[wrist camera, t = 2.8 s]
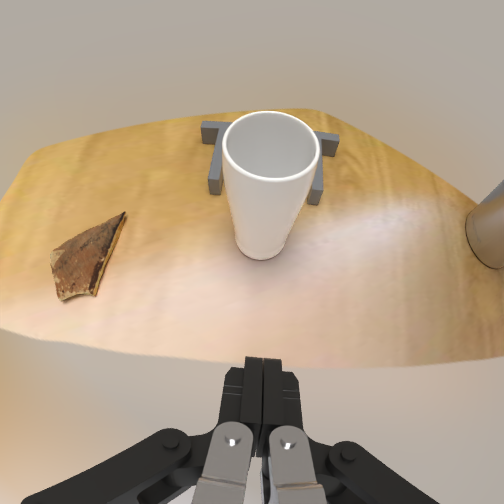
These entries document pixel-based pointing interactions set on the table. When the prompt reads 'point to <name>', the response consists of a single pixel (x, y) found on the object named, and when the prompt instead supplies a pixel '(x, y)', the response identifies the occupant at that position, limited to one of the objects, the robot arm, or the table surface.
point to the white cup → (267, 178)
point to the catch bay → (214, 135)
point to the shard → (84, 259)
